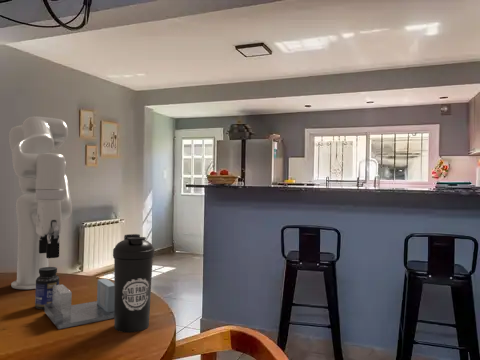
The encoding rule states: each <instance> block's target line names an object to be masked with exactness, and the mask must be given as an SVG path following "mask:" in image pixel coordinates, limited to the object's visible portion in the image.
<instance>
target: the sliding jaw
mask: <svg viewBox="0 0 480 360" xmlns="http://www.w3.org/2000/svg"><path fill="white" fill-rule="evenodd" d="M96 301H97V304H98V305H99V306H100V307H102V308H103V309H104V310H105V311H107V312H113V311H114V282H113V281H111V280H109V279H108V278H100V279H97V293H96Z"/></svg>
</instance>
